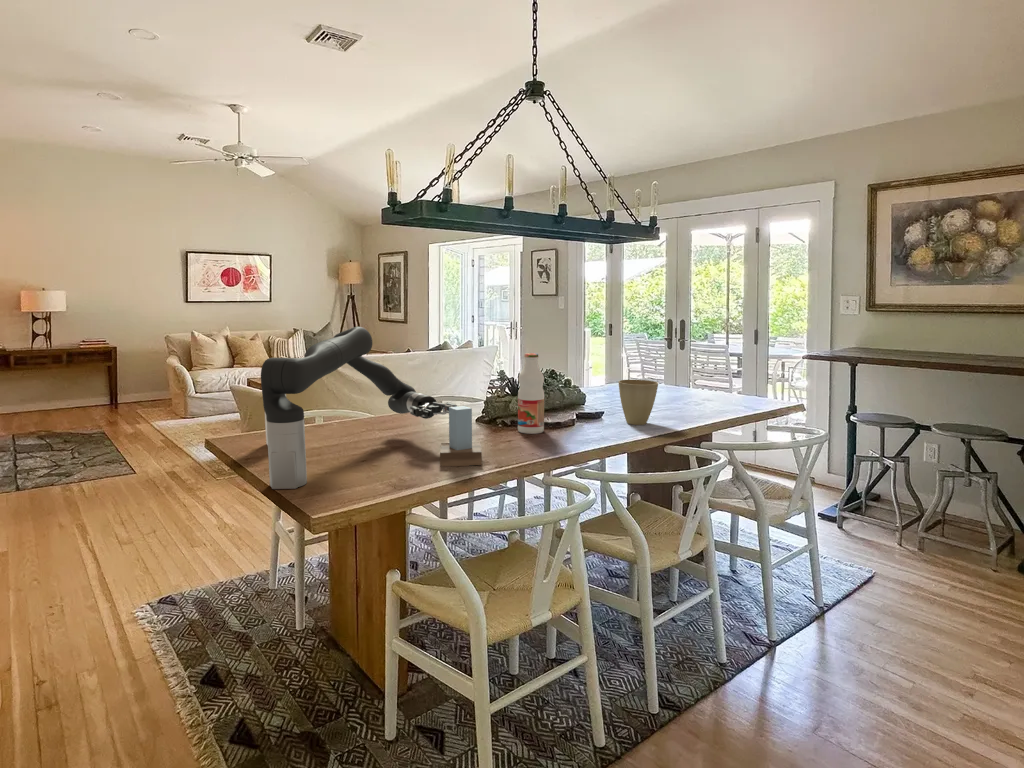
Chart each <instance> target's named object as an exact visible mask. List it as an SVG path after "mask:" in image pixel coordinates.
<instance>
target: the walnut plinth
mask: <svg viewBox="0 0 1024 768" xmlns="http://www.w3.org/2000/svg"><path fill="white" fill-rule="evenodd" d="M482 456H483V454H482V445H481V442H472V448H470V449H463V450H455V449H453V448H451V447H449V442H441V443H440V449H439V466H440V467H470V466H469V465H482V466H483V464H482V463H483V462H482Z"/></svg>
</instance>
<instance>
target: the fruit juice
mask: <svg viewBox="0 0 1024 768" xmlns="http://www.w3.org/2000/svg"><path fill="white" fill-rule="evenodd" d="M523 357H524V361H525V362H524V365H523V368H522V370H521V371H520V373H519V375H518V379H517V380H518V384H519V389H518V391H517V392H518V393H517V430H518V432H519V433H522V434H527V435H535V434H536V435H537V434H541V433H543V432H544V430H545V390H544V382H545V377H544V374H543V372H542V371H541V370H540V367H539V361H538V360H539V354H538V353H534V352H533V353H531V352H530V353H529V352H528V353H524V355H523Z"/></svg>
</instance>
